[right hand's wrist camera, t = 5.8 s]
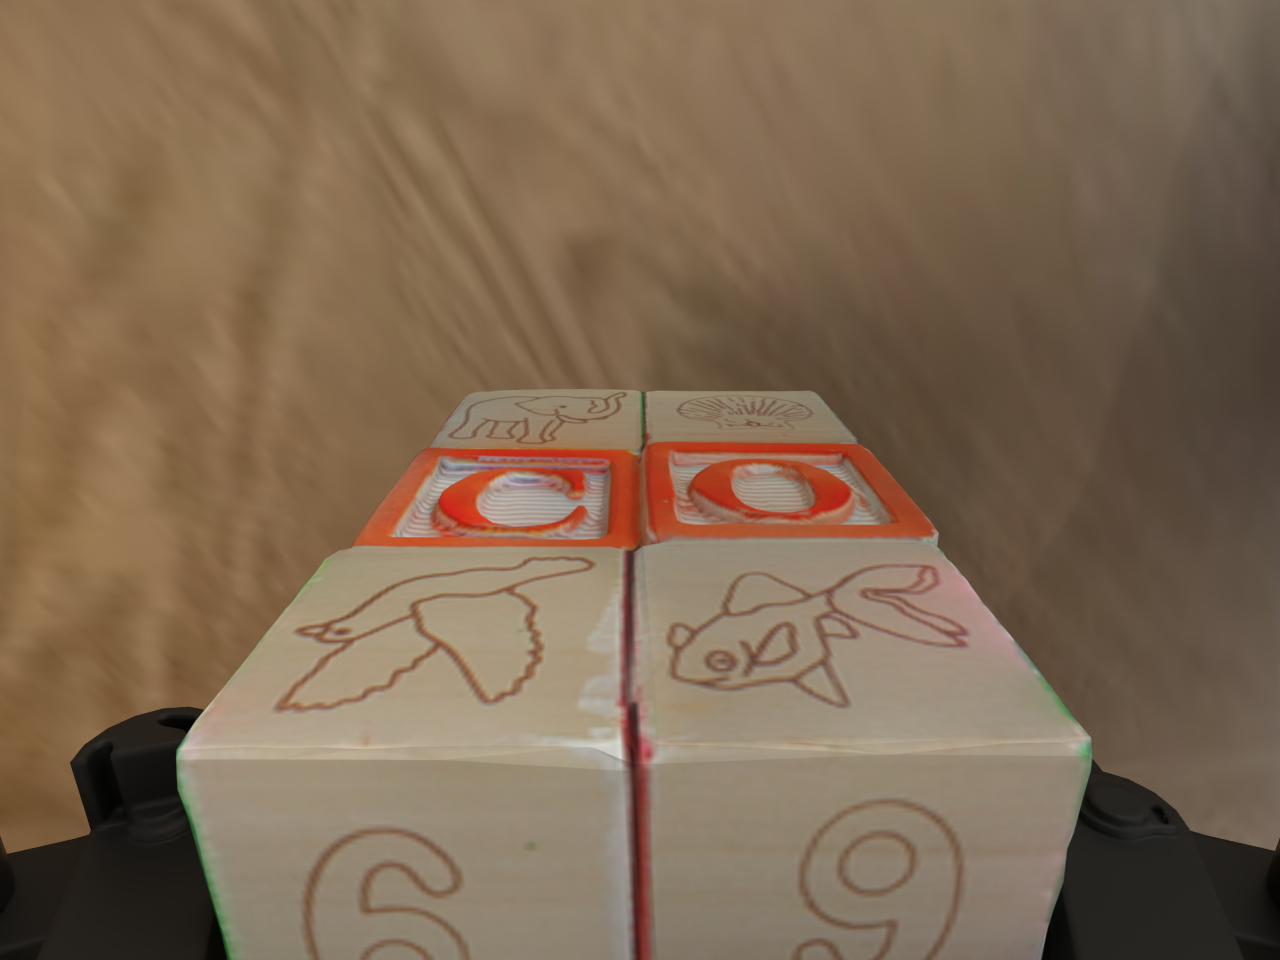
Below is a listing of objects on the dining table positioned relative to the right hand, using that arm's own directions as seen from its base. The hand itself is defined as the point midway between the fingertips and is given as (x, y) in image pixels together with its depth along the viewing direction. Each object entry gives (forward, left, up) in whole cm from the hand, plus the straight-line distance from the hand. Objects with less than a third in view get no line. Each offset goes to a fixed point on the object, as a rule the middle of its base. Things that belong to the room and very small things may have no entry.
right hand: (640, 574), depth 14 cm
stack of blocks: (+2, +7, -1) cm, 7 cm away
